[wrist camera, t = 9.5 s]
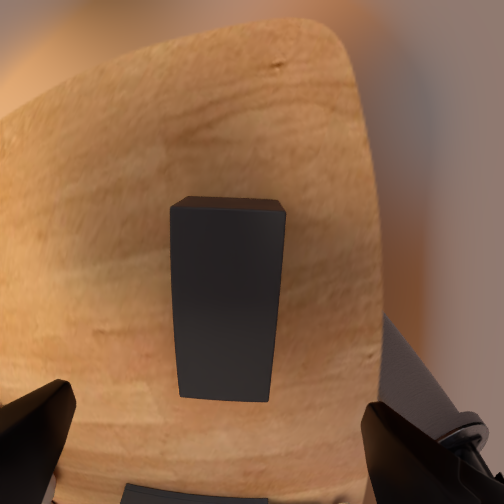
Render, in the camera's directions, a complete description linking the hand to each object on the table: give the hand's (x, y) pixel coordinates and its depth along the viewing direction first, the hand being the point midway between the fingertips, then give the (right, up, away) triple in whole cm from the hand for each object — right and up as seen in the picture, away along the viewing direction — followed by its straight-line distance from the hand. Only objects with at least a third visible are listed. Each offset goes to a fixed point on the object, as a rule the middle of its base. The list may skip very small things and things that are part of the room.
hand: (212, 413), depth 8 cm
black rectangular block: (0, +3, +9) cm, 9 cm away
